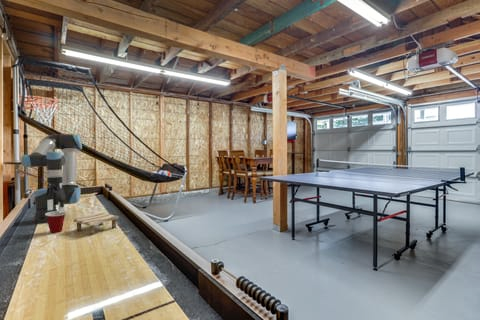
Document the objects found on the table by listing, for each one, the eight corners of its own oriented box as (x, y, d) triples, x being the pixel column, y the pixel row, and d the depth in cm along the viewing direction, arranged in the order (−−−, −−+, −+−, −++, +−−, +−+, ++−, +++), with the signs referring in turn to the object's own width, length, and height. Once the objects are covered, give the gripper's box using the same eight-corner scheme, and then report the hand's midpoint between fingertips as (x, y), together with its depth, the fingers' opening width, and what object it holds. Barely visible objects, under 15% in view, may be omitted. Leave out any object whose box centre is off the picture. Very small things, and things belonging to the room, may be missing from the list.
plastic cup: (58, 234, 149) (58, 214, 148) (40, 234, 149) (40, 214, 148) (71, 229, 160) (70, 210, 159) (54, 229, 160) (54, 210, 159)
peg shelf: (74, 231, 155) (73, 219, 155) (102, 223, 171) (102, 212, 171) (90, 236, 146) (90, 223, 146) (118, 227, 162) (118, 216, 162)
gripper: (37, 176, 156) (39, 210, 156) (58, 178, 143) (59, 214, 144) (51, 175, 162) (52, 207, 163) (72, 176, 150) (73, 212, 150)
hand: (55, 211), depth 153 cm, fingers open, 13 cm apart
